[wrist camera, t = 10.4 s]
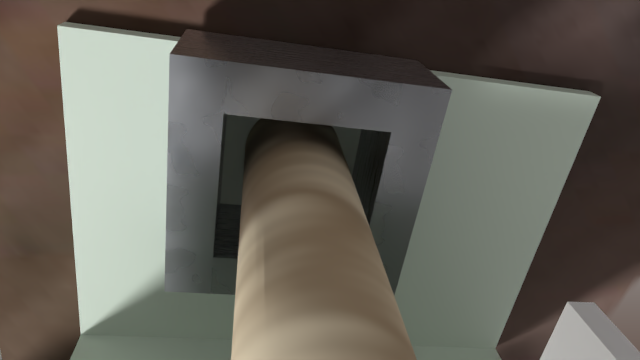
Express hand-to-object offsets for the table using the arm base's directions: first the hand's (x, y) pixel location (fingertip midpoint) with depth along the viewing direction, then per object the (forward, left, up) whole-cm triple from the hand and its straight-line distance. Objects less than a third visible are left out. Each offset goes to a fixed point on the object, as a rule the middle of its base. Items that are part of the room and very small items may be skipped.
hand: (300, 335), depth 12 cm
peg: (0, 0, -11) cm, 11 cm away
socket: (0, 0, -11) cm, 11 cm away
